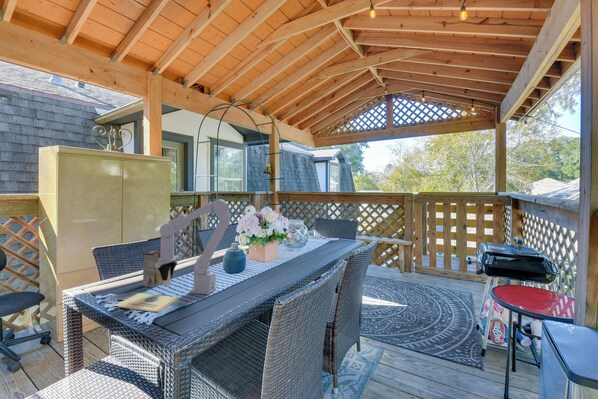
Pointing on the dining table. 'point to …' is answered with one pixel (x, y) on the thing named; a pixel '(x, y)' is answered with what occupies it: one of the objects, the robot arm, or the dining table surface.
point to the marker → (168, 278)
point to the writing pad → (147, 302)
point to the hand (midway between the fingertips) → (167, 279)
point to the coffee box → (151, 269)
